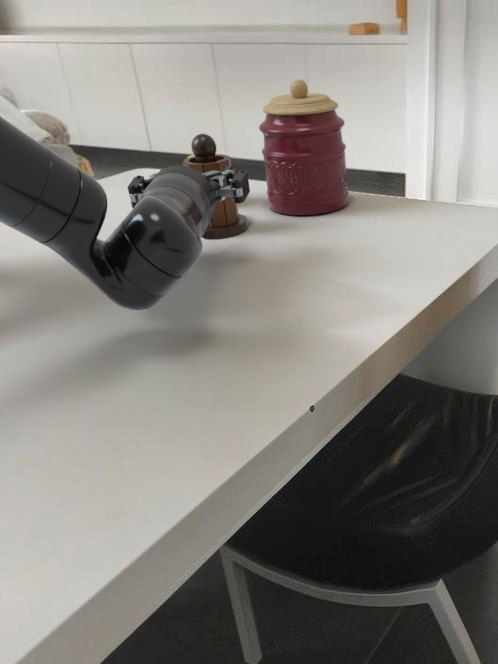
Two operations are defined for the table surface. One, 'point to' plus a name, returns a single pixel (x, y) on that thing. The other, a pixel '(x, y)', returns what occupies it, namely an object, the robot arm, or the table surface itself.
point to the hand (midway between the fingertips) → (198, 175)
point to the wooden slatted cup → (227, 208)
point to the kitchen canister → (304, 153)
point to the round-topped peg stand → (205, 153)
